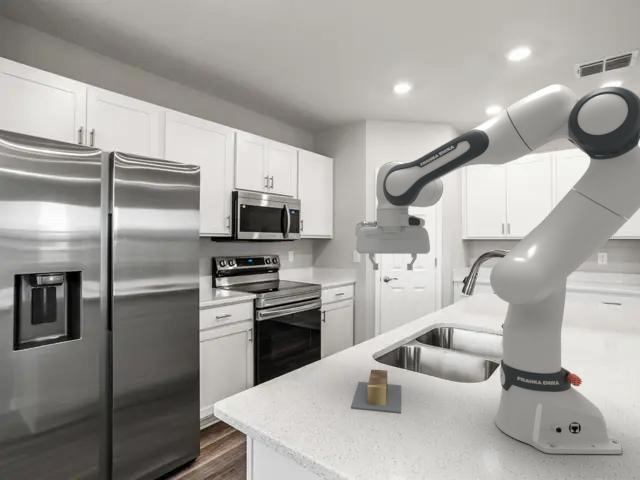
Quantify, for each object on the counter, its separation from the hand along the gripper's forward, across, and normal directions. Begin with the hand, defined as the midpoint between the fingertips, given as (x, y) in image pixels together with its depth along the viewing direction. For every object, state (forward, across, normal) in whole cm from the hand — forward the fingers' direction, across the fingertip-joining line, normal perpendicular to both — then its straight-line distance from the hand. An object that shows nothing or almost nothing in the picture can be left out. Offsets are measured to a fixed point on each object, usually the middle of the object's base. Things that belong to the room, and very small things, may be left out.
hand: (392, 270), depth 101 cm
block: (+30, -4, -1) cm, 31 cm away
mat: (+33, -4, -7) cm, 34 cm away
